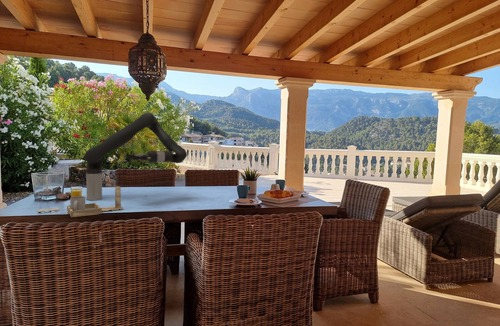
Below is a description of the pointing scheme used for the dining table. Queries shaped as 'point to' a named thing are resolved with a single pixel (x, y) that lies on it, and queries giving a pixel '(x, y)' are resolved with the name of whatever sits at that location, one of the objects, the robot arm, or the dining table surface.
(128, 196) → the dining table surface
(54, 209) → the broken strip
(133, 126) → the robot arm
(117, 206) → the tan wooden stand
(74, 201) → the cup
